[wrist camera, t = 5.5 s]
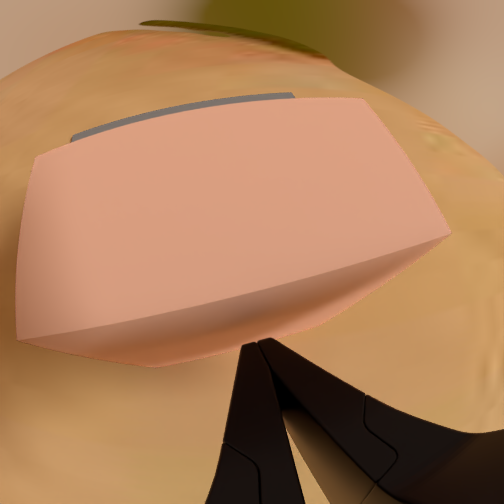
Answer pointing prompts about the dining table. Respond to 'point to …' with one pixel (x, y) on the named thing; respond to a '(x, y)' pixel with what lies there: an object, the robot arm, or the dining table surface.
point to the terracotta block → (215, 229)
